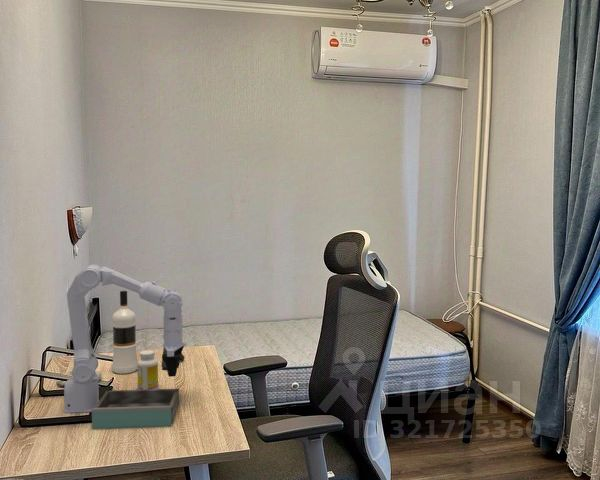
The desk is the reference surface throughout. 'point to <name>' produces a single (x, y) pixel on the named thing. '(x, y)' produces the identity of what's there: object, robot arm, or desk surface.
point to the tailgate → (131, 417)
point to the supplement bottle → (147, 371)
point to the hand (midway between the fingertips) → (173, 372)
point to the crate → (141, 399)
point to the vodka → (124, 338)
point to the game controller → (71, 375)
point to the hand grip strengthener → (164, 362)
